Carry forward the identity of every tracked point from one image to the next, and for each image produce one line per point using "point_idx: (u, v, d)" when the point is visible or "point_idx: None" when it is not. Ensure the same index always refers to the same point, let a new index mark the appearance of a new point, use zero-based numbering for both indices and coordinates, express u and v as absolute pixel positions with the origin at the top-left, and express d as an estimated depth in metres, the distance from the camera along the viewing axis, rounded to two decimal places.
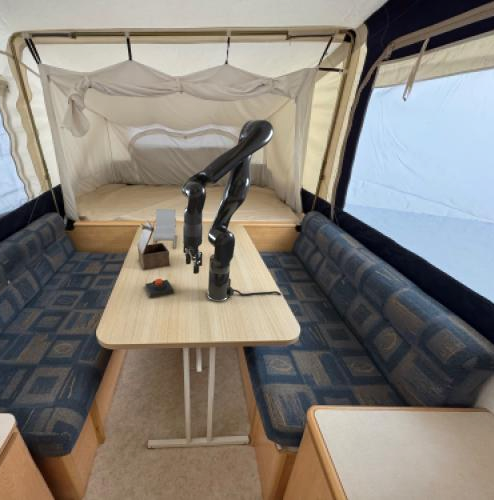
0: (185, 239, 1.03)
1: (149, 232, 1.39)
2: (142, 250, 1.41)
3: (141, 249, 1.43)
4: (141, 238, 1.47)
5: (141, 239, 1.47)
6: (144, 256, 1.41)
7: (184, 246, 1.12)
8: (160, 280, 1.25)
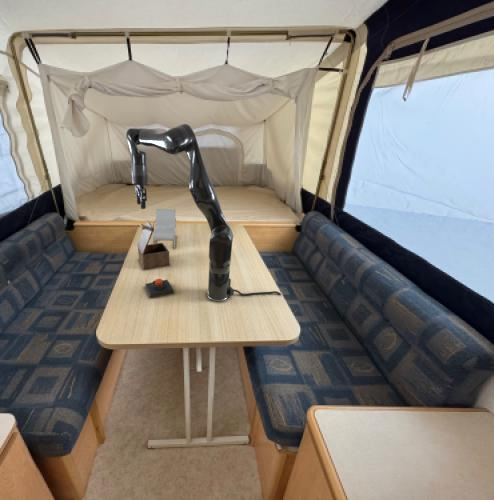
0: (133, 178, 1.27)
1: (149, 232, 1.39)
2: (142, 250, 1.41)
3: (141, 249, 1.43)
4: (141, 238, 1.47)
5: (141, 239, 1.47)
6: (144, 256, 1.41)
7: (135, 188, 1.36)
8: (160, 280, 1.25)
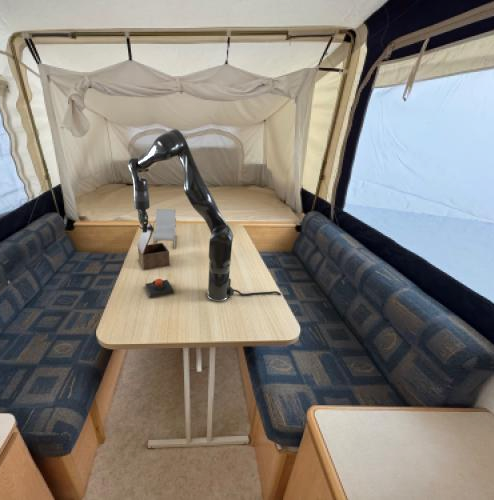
0: (135, 204, 1.33)
1: (149, 232, 1.39)
2: (142, 250, 1.41)
3: (141, 249, 1.43)
4: (141, 238, 1.47)
5: (141, 239, 1.47)
6: (144, 256, 1.41)
7: (138, 213, 1.42)
8: (160, 280, 1.25)
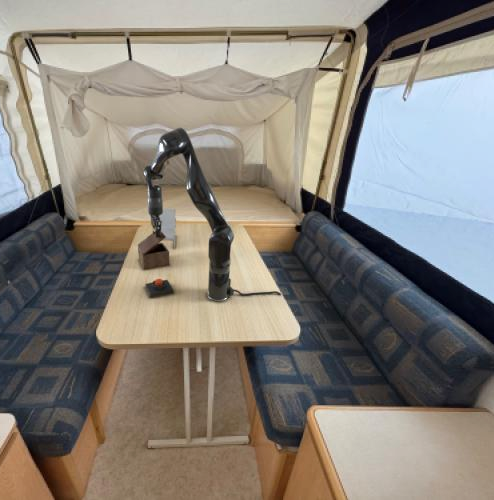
0: (149, 209, 1.37)
1: (159, 238, 1.42)
2: (144, 250, 1.41)
3: (142, 249, 1.43)
4: (145, 240, 1.49)
5: (145, 241, 1.48)
6: (144, 256, 1.41)
7: (151, 218, 1.46)
8: (160, 280, 1.25)
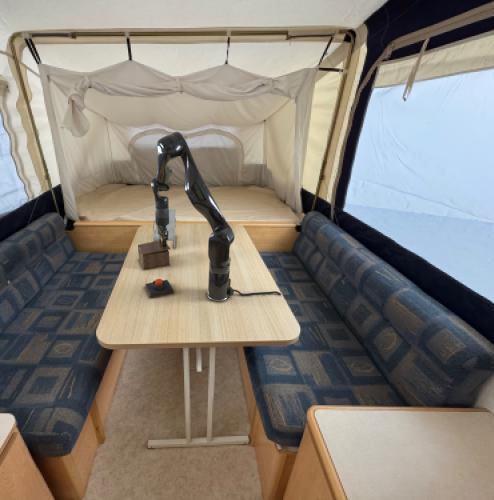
0: (156, 220, 1.41)
1: (163, 247, 1.46)
2: (144, 252, 1.42)
3: (143, 250, 1.43)
4: (147, 244, 1.50)
5: (147, 245, 1.49)
6: (144, 256, 1.41)
7: None
8: (160, 280, 1.25)
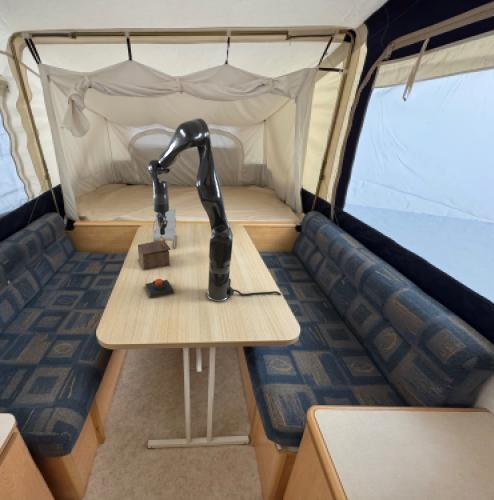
0: (154, 207, 1.29)
1: (163, 247, 1.46)
2: (144, 252, 1.42)
3: (143, 250, 1.43)
4: (147, 244, 1.50)
5: (147, 245, 1.49)
6: (144, 256, 1.41)
7: (157, 218, 1.38)
8: (160, 280, 1.25)
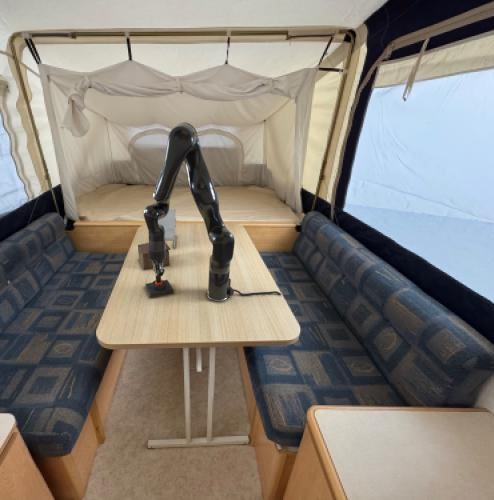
0: (150, 254, 1.15)
1: None
2: (144, 252, 1.42)
3: (143, 250, 1.43)
4: (147, 244, 1.50)
5: (147, 245, 1.49)
6: (144, 256, 1.41)
7: (153, 263, 1.24)
8: None
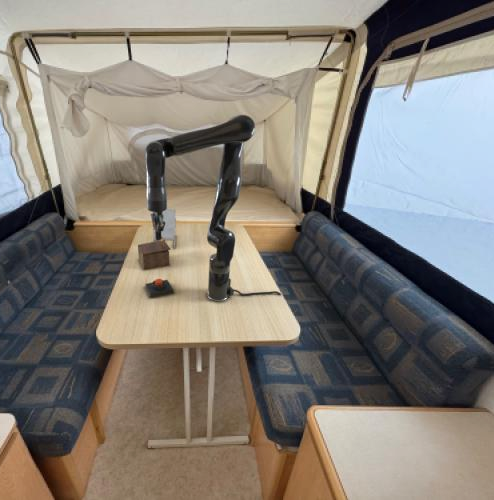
0: (148, 204, 1.00)
1: (163, 247, 1.46)
2: (144, 252, 1.42)
3: (143, 250, 1.43)
4: (147, 244, 1.50)
5: (147, 245, 1.49)
6: (144, 256, 1.41)
7: (152, 219, 1.08)
8: (160, 280, 1.25)
